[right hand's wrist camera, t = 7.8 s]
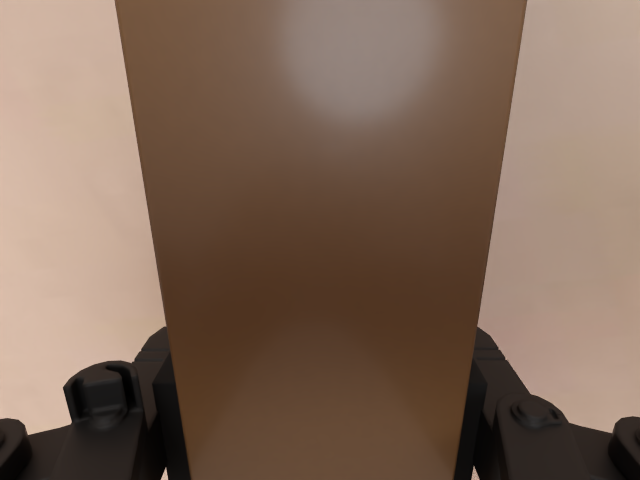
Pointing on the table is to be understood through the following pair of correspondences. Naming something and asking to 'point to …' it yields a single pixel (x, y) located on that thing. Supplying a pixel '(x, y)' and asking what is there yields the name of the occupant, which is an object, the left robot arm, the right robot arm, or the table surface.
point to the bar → (321, 222)
